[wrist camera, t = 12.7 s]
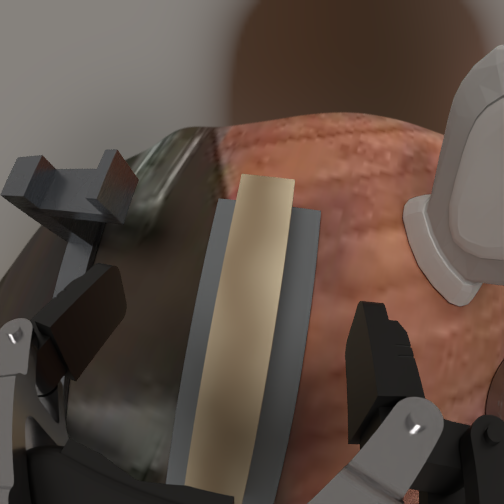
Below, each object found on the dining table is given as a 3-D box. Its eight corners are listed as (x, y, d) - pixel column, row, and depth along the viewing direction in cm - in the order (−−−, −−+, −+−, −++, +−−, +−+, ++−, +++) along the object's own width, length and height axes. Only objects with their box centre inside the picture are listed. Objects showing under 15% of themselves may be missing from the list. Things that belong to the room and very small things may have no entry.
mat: (319, 214, 23) (320, 210, 23) (269, 514, 16) (269, 517, 15) (220, 202, 24) (218, 198, 24) (167, 492, 17) (164, 495, 16)
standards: (172, 225, 24) (117, 149, 14) (127, 473, 17) (52, 520, 8) (83, 215, 25) (16, 156, 15) (41, 430, 19) (-41, 442, 9)
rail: (292, 207, 23) (295, 179, 19) (244, 494, 16) (237, 520, 12) (247, 202, 23) (241, 173, 20) (196, 484, 17) (181, 507, 13)
